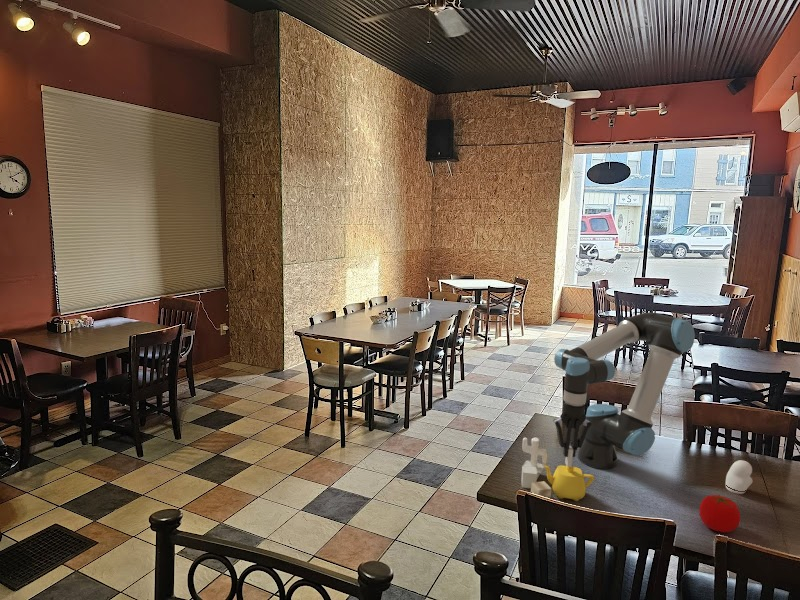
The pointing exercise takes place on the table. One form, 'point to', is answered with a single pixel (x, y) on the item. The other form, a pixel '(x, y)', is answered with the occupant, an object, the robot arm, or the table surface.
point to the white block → (528, 476)
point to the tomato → (719, 513)
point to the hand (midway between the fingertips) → (568, 464)
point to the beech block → (541, 489)
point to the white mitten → (739, 476)
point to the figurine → (535, 454)
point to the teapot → (568, 482)
